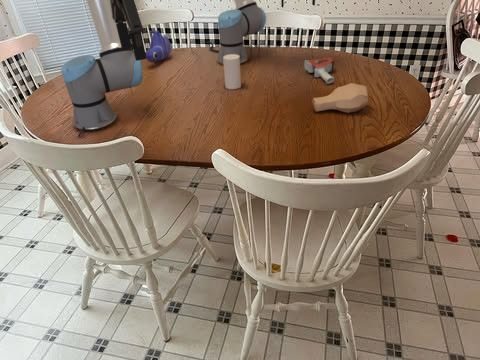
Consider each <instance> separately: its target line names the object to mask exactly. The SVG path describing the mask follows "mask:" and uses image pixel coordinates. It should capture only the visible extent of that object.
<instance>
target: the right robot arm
mask: <svg viewBox="0 0 480 360" xmlns="http://www.w3.org/2000/svg"><path fill="white" fill-rule="evenodd" d="M233 1H234V4H235V9H233V8H232V9H228V10H225V11H222V12H220V14H218V16H217V21H218V22H217V26H218V34H219V35H218V36H219V50H217V49H213V48H214V46H215V45H214V44H213V43H212V42H211V41H209V40H206V41H205V44H209V45H211V46H210V47H209V50H210V52H214V53H218V56H217V63H218V64H219V65H222V66H224V63H223V57H224V56H225V55H230V54H235V55H239V56H240V65H243V64H245V63H247V62H248V54H247V51H246V49H245V45H244V38H245V37H247V36H251V35H255V34H257V33H260V32H262V31H263V30H264V28H265V26H266V23H267V16H266V12H265V10H264V9H263V8H262V7H259V6H258V3H257V1H256V0H233ZM280 1H281V3H280V4H281V5H280V7H281V8H284V5H285V1H284V0H280ZM311 5H312V6H316V0H311Z"/></svg>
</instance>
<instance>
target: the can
mask: <svg viewBox="0 0 480 360" xmlns="http://www.w3.org/2000/svg"><path fill="white" fill-rule="evenodd" d="M223 63H224V65H223V75H224V85H225V86H224V87H225V89H228V90H237V89H240V88H241V87H242V78H241V77H242V76H241V75H242V74H241V64H240V56H239V55H235V54H230V55H225V56H224V57H223Z"/></svg>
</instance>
